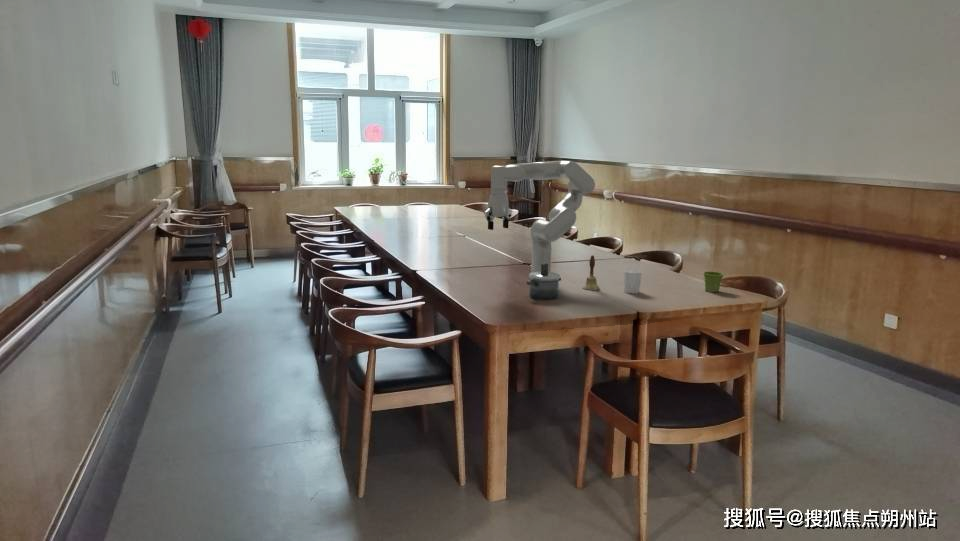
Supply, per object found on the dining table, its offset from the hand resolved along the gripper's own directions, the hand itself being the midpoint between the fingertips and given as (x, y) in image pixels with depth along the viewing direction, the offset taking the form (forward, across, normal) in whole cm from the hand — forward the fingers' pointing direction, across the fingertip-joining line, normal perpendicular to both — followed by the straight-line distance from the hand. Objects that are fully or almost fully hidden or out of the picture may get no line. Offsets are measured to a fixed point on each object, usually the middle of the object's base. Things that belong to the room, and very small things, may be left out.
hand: (498, 228), depth 304 cm
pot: (+28, -4, +27) cm, 39 cm away
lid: (+19, -4, +27) cm, 33 cm away
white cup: (+28, -43, +47) cm, 70 cm away
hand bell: (+28, -34, +30) cm, 54 cm away
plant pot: (+28, -75, +70) cm, 106 cm away
